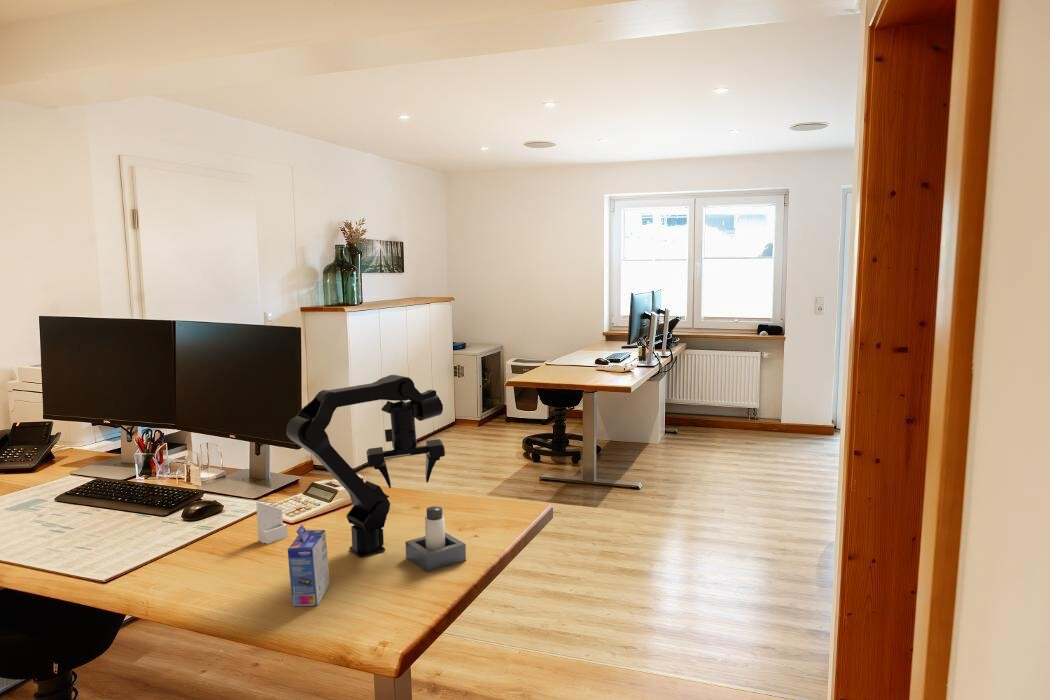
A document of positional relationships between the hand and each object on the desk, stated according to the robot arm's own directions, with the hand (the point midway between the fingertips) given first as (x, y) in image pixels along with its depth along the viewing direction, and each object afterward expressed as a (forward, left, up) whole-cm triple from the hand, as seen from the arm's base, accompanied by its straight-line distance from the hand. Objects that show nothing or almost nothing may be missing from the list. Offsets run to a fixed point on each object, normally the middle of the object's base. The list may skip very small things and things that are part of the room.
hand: (408, 484), depth 172 cm
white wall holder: (-28, +20, -13) cm, 37 cm away
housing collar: (-3, -17, -13) cm, 22 cm away
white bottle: (-3, -17, -13) cm, 22 cm away
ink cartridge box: (-32, -16, -13) cm, 38 cm away
